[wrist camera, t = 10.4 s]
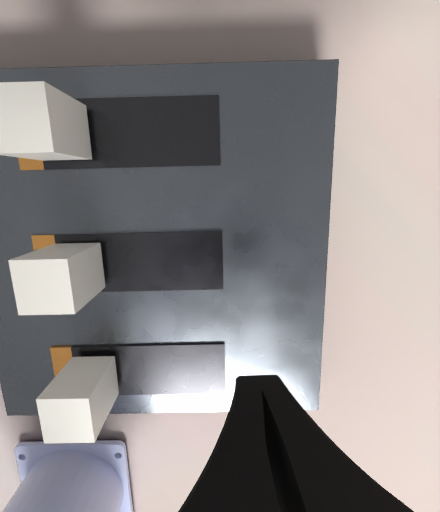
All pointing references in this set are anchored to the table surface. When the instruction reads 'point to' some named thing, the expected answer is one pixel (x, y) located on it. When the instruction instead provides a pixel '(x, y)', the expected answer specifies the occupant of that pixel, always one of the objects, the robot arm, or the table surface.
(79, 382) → the breaker
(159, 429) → the table surface
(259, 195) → the panel
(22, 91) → the block
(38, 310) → the block
